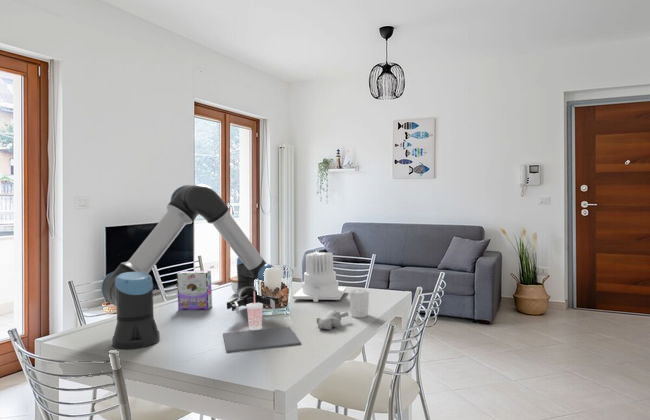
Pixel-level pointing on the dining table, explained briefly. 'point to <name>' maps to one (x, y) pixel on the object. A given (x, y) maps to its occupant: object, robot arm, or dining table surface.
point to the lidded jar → (234, 284)
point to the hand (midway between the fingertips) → (255, 307)
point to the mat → (260, 339)
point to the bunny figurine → (330, 319)
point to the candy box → (194, 290)
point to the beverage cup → (255, 315)
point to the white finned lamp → (320, 279)
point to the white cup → (359, 302)
